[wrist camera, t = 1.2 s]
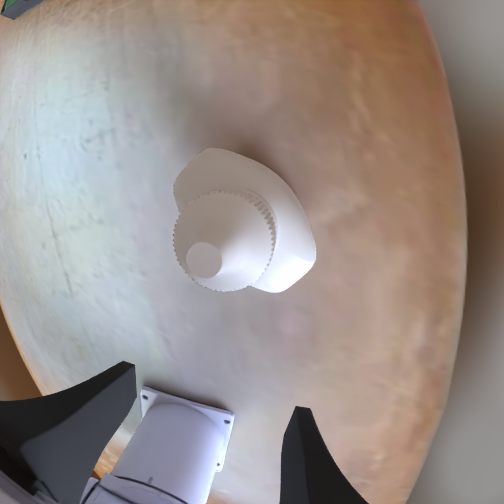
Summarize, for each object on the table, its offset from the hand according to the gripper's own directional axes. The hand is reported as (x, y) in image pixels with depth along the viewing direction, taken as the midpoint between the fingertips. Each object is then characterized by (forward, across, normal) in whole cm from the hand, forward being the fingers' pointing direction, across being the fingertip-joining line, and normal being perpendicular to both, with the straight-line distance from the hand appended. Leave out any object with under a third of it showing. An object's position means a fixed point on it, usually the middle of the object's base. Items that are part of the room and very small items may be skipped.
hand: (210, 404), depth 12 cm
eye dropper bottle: (+8, 0, -8) cm, 11 cm away
